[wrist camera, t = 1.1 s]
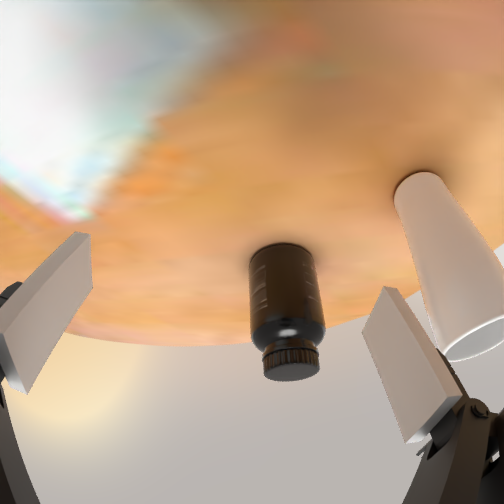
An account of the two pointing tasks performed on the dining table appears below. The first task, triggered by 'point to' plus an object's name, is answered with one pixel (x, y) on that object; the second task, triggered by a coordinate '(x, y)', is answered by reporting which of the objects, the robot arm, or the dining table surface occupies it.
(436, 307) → the drinking glass
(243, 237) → the dining table surface
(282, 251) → the supplement bottle
